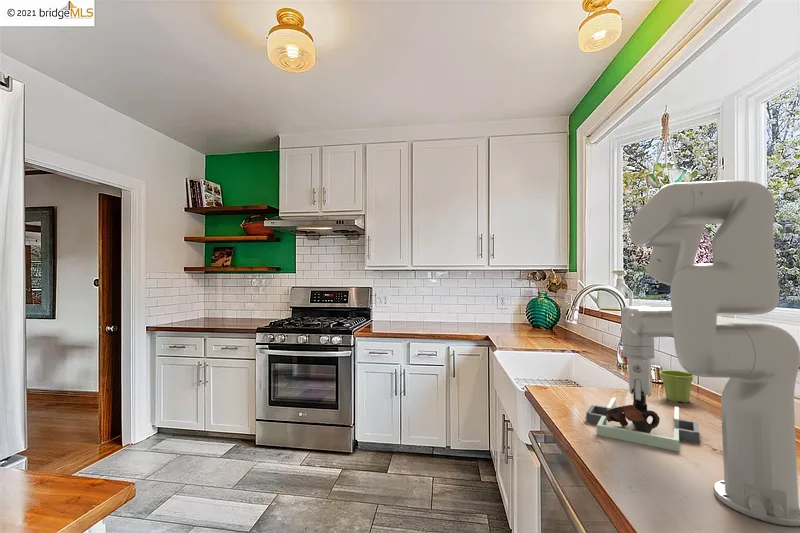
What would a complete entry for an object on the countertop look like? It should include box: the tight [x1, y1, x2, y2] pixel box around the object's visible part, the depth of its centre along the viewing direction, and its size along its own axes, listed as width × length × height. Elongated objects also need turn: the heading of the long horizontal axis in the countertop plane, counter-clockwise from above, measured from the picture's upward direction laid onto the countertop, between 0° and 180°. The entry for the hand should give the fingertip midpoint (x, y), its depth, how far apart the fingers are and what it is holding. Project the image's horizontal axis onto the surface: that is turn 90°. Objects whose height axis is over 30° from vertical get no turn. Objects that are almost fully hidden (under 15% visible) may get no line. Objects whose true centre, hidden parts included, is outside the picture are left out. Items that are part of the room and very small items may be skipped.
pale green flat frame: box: [585, 396, 701, 453], centre depth 105 cm, size 28×25×2 cm
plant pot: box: [658, 369, 695, 403], centre depth 126 cm, size 9×9×9 cm
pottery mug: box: [606, 404, 661, 434], centre depth 99 cm, size 12×10×8 cm
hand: (640, 418), depth 105 cm, fingers closed
